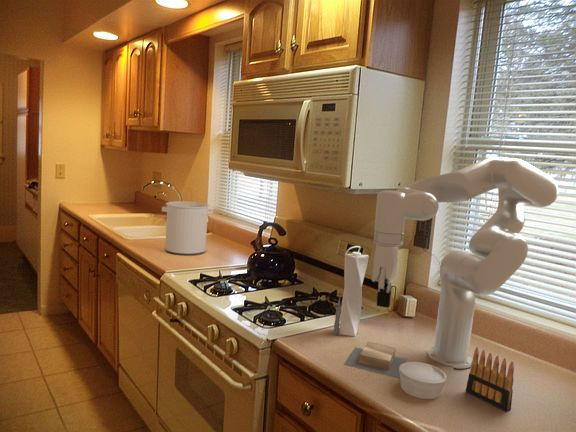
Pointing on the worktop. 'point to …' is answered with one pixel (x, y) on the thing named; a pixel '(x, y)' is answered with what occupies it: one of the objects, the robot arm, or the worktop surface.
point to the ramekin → (422, 380)
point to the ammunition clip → (491, 381)
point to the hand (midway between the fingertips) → (383, 305)
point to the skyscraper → (351, 294)
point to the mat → (393, 370)
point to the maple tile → (377, 355)
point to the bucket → (186, 227)
